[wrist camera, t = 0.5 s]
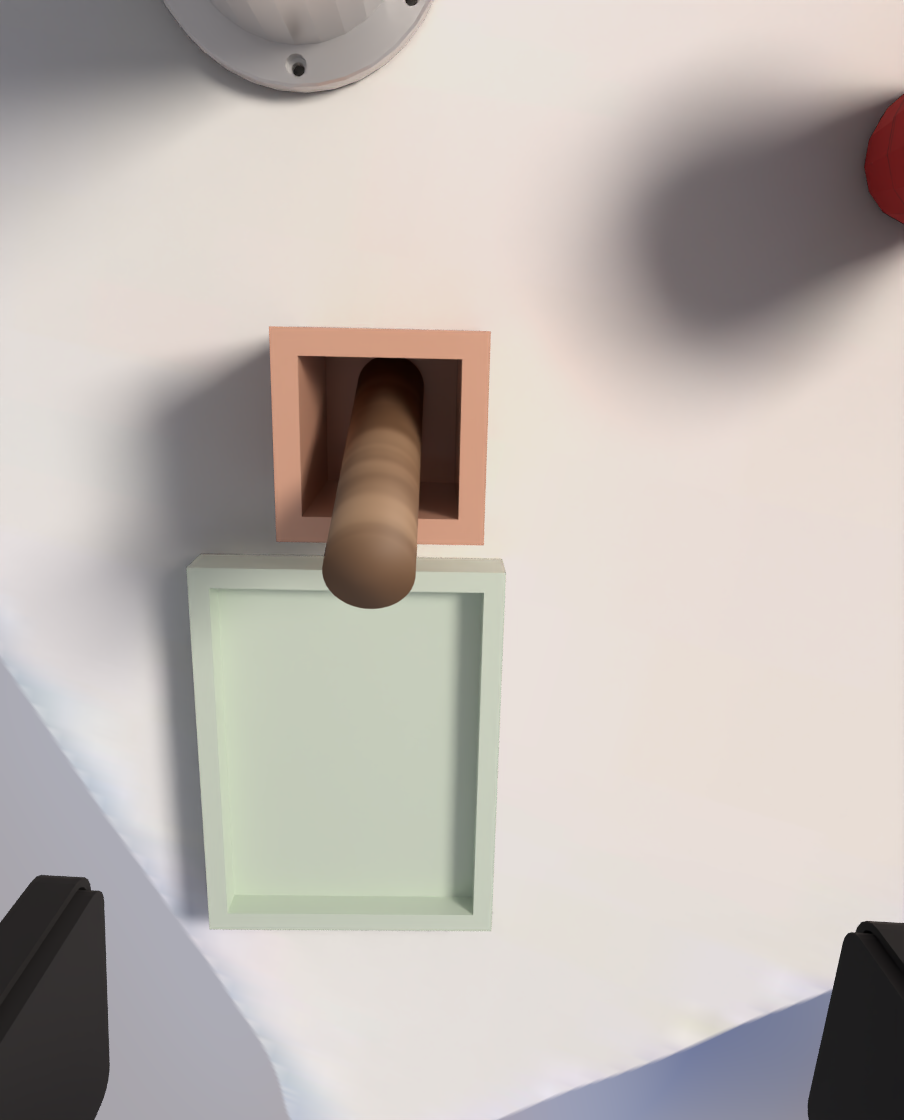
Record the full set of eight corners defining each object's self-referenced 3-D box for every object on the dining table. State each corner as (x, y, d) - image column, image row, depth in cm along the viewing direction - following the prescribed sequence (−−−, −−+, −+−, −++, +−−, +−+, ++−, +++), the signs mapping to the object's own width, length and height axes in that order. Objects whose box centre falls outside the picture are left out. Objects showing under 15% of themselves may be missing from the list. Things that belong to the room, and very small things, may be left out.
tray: (200, 553, 42) (186, 567, 39) (501, 559, 42) (505, 573, 40) (221, 898, 47) (209, 929, 45) (488, 900, 47) (491, 931, 45)
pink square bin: (306, 326, 39) (269, 326, 30) (478, 331, 39) (490, 331, 30) (310, 496, 41) (276, 541, 32) (473, 499, 41) (483, 545, 33)
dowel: (358, 352, 38) (315, 376, 25) (424, 354, 38) (417, 378, 25) (360, 515, 40) (320, 619, 27) (422, 516, 40) (414, 620, 27)
